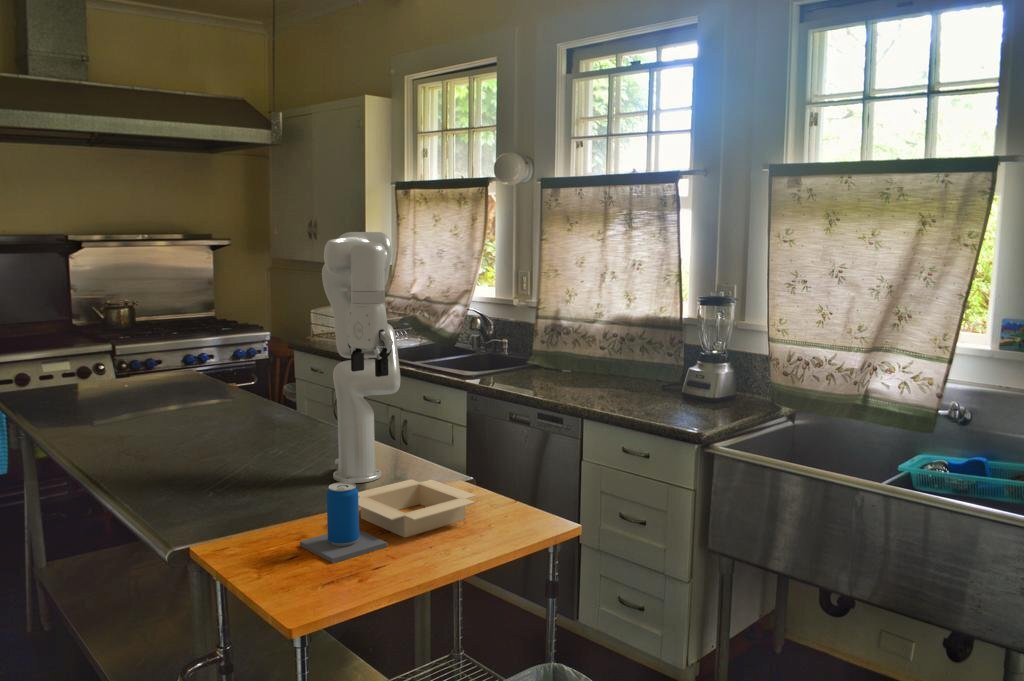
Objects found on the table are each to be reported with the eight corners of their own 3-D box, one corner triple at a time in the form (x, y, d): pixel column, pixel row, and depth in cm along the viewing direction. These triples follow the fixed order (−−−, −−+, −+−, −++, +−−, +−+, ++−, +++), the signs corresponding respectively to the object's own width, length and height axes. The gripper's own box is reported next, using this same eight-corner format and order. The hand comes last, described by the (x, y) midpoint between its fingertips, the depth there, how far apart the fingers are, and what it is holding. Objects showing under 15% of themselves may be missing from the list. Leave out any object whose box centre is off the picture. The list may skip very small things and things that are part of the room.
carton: (339, 517, 198) (339, 496, 197) (422, 495, 214) (422, 476, 214) (400, 545, 181) (400, 523, 180) (486, 519, 197) (486, 498, 196)
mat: (299, 545, 181) (299, 541, 181) (352, 531, 190) (352, 526, 189) (332, 563, 171) (332, 558, 171) (387, 547, 180) (386, 542, 180)
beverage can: (361, 535, 184) (359, 481, 182) (357, 547, 177) (355, 490, 176) (330, 536, 183) (329, 481, 182) (325, 547, 177) (323, 491, 175)
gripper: (333, 297, 198) (335, 370, 200) (376, 302, 185) (377, 380, 188) (360, 295, 203) (362, 367, 205) (404, 300, 190) (405, 376, 193)
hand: (369, 373), depth 196 cm, fingers open, 9 cm apart
